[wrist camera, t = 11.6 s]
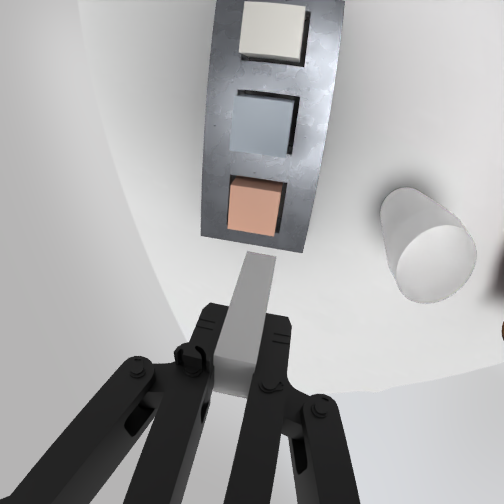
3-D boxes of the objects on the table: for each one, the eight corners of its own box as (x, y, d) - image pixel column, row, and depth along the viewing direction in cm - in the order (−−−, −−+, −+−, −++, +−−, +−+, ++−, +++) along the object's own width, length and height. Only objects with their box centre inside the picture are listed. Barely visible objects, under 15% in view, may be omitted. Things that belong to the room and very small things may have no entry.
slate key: (244, 93, 27) (234, 95, 23) (294, 100, 26) (293, 102, 22) (240, 139, 30) (229, 150, 25) (288, 146, 29) (285, 158, 25)
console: (227, -2, 23) (218, -11, 20) (340, 10, 22) (344, 0, 19) (210, 220, 38) (200, 235, 35) (302, 236, 37) (302, 253, 34)
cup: (364, 239, 36) (382, 302, 26) (377, 171, 31) (409, 216, 21) (425, 246, 35) (457, 306, 25) (442, 183, 30) (490, 230, 20)
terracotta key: (240, 170, 33) (230, 184, 29) (283, 177, 33) (280, 192, 29) (236, 209, 36) (227, 228, 32) (277, 216, 36) (273, 236, 31)
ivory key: (253, 13, 22) (244, 1, 18) (304, 18, 21) (305, 6, 17) (248, 57, 25) (238, 52, 20) (299, 63, 24) (299, 58, 20)
